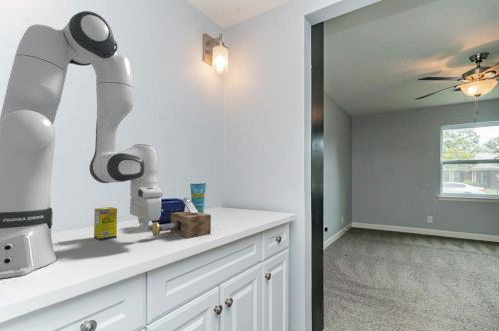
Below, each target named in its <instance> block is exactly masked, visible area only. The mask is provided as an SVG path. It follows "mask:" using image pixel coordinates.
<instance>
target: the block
mask: <svg viewBox="0 0 499 331" xmlns="http://www.w3.org/2000/svg"><path fill="white" fill-rule="evenodd" d="M211 220H212V215H211V213H210V214H209V213H205V212H204V213H200V212H198V214H190V212H189V211H184V212H178V213H171V223H177V222H181V228H180V229H174V230H170V233H172V234H175V235H177V236H180V237H183V238H186V239H191V238H196V237H202V236H207V235H208V236H209V235H211V233H212V232H211V228H212V221H211Z"/></svg>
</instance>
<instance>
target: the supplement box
mask: <svg viewBox="0 0 499 331" xmlns="http://www.w3.org/2000/svg"><path fill="white" fill-rule="evenodd" d="M93 217H94V218H93V219H94V220H93V221H94V224H93V225H94V226H93V232H94V234H93V238H94V239H96V240H98V241H105V240H111V239H115V238H116V239H117V237H118V236H117V234H118V233H117V232H118V230H117V228H118V225H117V224H118V208H116V207H113V206H108V207H107V206H105V207H96V208H94V216H93Z"/></svg>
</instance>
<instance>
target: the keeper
mask: <svg viewBox="0 0 499 331" xmlns="http://www.w3.org/2000/svg"><path fill="white" fill-rule="evenodd" d="M182 200H183V203H184V204H185V208H186V209H187V210H188V211H189V212H190V214H198V211H197V209H196V208H195V206H194V205H193V203H192V201H191V198H189V197H184V198H182Z"/></svg>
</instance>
